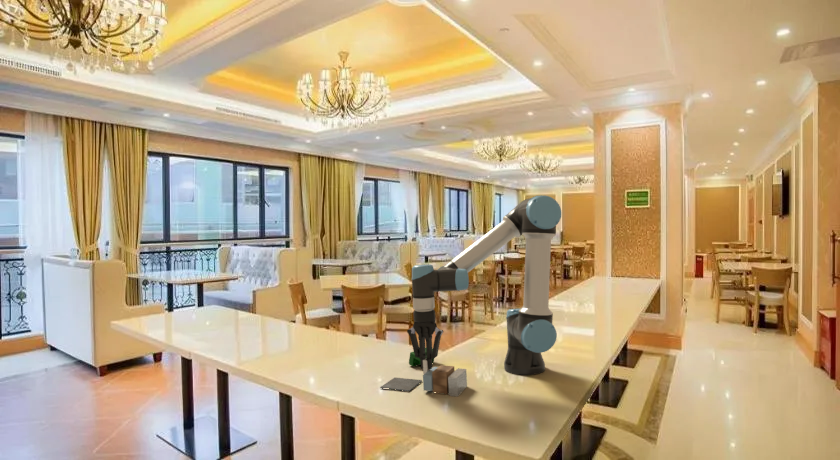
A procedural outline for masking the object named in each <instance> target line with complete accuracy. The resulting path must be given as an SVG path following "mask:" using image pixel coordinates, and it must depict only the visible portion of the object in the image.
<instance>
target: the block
mask: <svg viewBox="0 0 840 460" xmlns="http://www.w3.org/2000/svg"><path fill="white" fill-rule="evenodd" d="M437 367H438V368H437V369H435V370H434V371H433V372H432V377H433V391H432V393H433V392H436V393H435V394H438V393H444V394H443V395H449V385H448V377H449V376H450V375H451V374H452V373H453V372H454V371H456V370H455V365H454V366H453V365H445V364H441V365H439V366H437Z"/></svg>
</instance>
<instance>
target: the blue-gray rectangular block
mask: <svg viewBox="0 0 840 460" xmlns="http://www.w3.org/2000/svg"><path fill="white" fill-rule="evenodd" d="M438 367H439V366H432V369H430V370H429V371H428V372H426V373H425V374H424V375H422V385H423V391H428V392H433V377H432V372H433V371H434V370H435V369H437V368H438Z"/></svg>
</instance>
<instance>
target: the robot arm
mask: <svg viewBox="0 0 840 460" xmlns="http://www.w3.org/2000/svg"><path fill="white" fill-rule="evenodd" d="M561 218H562V209H561V205H560V204H559V202H558V201H557V200H556V199H554V198H553V197H551V196H549V195H535V196H533V197H529V198H526V199H524V200H522V201H520V202H519V203H518V204H517V205H516V206H514V208H512V209H511V210H510V211H509V212H508V213H507V214H505V215H504V216H503V218H502V221H500V223H499V224H498V223H497V225H496V226H494V227H492V229H490V230H489V231H487V233H485V234H483V236H481V237H480V238H479V239H477V240H476V241H475V242H473V243H472V244H470V245H469V246H468V247H466V248H465V249H464V250H463V251H461V252H460V253H459V254H458V255H457V256H455V257H454V258H452V259H451V260H450V261H449V262H448V263H446V264H444V265H442V266H440V267H438V269H434V266H433V264H415V265H413V266H412V267H411V286H412V288H411V289H412V309H413V313H412V315H413V325H412V327H411V328H409V329H407V331H406V333H407V334H408V336H409V338H410V342H411V346H412V351H413V352H414V354H415V357H418V358H420V360H421V366H420V368H421V369H422V371H423V375H424V374H425V373H426V372H428V371H429V370H430V369H432V368H433V364H432V359H434V360H435V358H437V357H438V356H439V355H438V354H439V349H440V342H441V337H442V335H443V334H444V330H443V329H440V328H438V325H437V323H436V310H435V308H436V306H435V303H436V302H435V292H436V293H437V292H452V291H453V292H456V291H457V292H460V291H466V290H467V289H468V288H469V284H470V280H469V273H470V272H471V271H472V270H473V269H475V268H476V267H477V266H479V265H480V264H482V263H483V262H484V261H486V260H487V259H488V258H489V257H490V256H492V255H493V254H494V253H496V252H497V251H498V250H499V249H501V248H502V247H504V246H505V245H507V244H508V243H509V242H510V241H511V240H513V239H514V238H515V237H517V238H520V237H521V236H522V235H523V236H524V238H525V253H524V254H525V255H524V277H523V278H524V281H523V283H524V284H523V300H522V301H523V303H522V304H523V305H522V306H521V308H509V309H507V310H506V318H505V319H506V331H507V332H506V333H507V335H506V337H507V352H506V354H505V358H504V361H503V362H504V363H503V365H504V366H503V367H504V368H503V369H504V370H505V371H506V372H508V373H510V374H515V375H525V376H528V375H538V374H541V373H543V372H545V370H546V366H545V365H546V364H545V361H544V358H543V356H542V353H545V352H547V351H549V350H551V349H552V348H553V347H554V345H555V344H556V342H557V334H558V333H557V329H556V328H555V325H553V319H554V318H553V316H554V315H553V313H554V312H552V311H551V309H550V308H549V306H550V305H549V301H550V278H551V277H550V275H551V274H550V273H551V272H550V271H551V249H552V239H554V237H555V236H556V235H557V234H556V233H557V225H558V224H559V222H560V221H561ZM433 334H435V337H434V341H433ZM425 348H426V351H425ZM432 349H433V351H432ZM426 354H427V358H425V357H426ZM437 355H438V356H437ZM423 375H422V376H423Z"/></svg>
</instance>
